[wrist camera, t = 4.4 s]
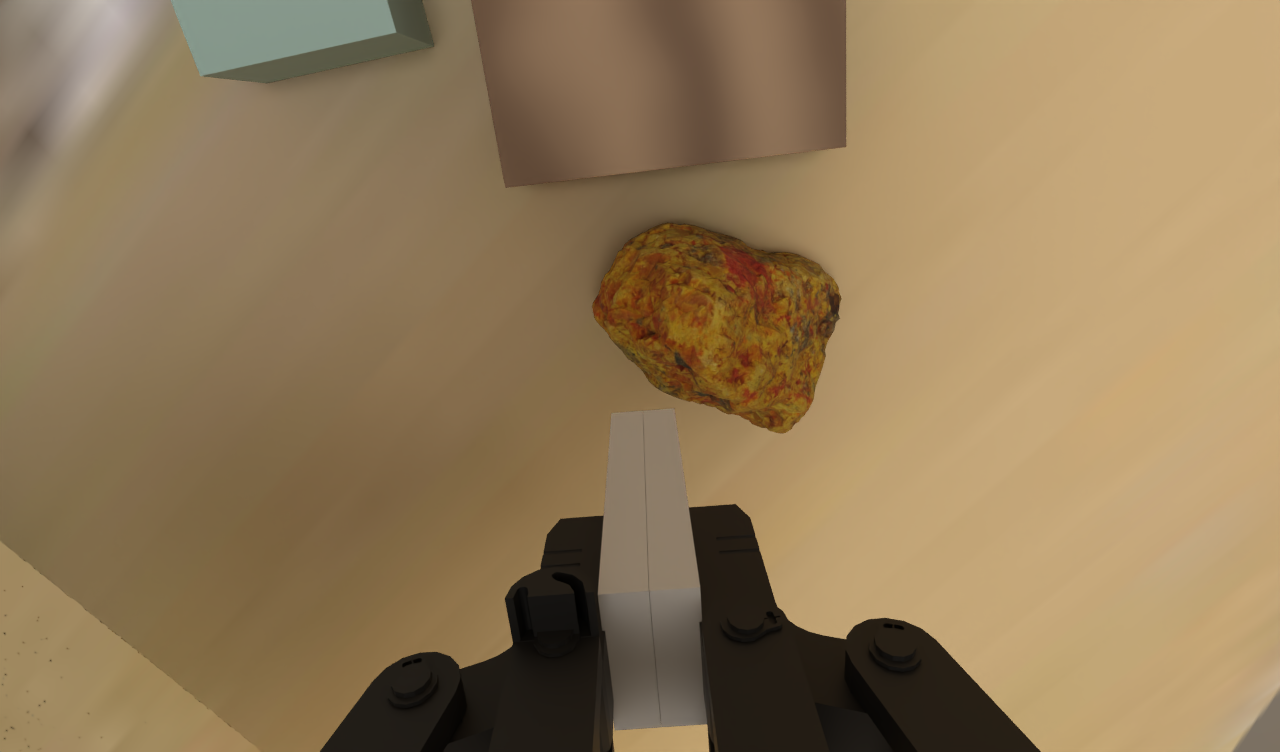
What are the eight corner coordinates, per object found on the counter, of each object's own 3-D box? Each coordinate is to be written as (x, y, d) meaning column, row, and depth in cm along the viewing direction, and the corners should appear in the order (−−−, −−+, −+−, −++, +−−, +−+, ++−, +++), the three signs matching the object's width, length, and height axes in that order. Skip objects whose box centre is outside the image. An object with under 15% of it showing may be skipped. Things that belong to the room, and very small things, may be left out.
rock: (729, 205, 35) (895, 291, 31) (675, 337, 39) (816, 431, 35) (593, 198, 27) (796, 317, 22) (540, 369, 31) (705, 499, 26)
